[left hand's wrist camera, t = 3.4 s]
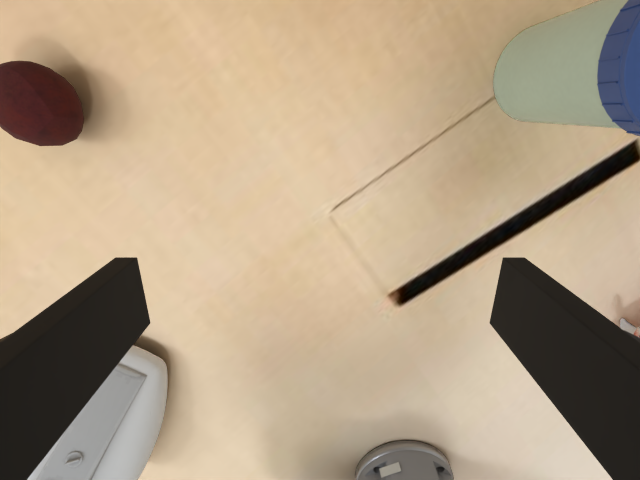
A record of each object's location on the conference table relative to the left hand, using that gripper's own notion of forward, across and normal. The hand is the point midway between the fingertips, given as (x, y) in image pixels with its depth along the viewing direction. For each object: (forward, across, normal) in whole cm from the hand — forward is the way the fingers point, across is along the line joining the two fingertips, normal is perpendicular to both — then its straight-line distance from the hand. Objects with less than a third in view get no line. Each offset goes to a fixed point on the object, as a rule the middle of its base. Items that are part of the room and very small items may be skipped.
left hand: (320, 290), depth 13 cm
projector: (+28, +30, +33) cm, 53 cm away
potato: (+28, +27, -6) cm, 39 cm away
